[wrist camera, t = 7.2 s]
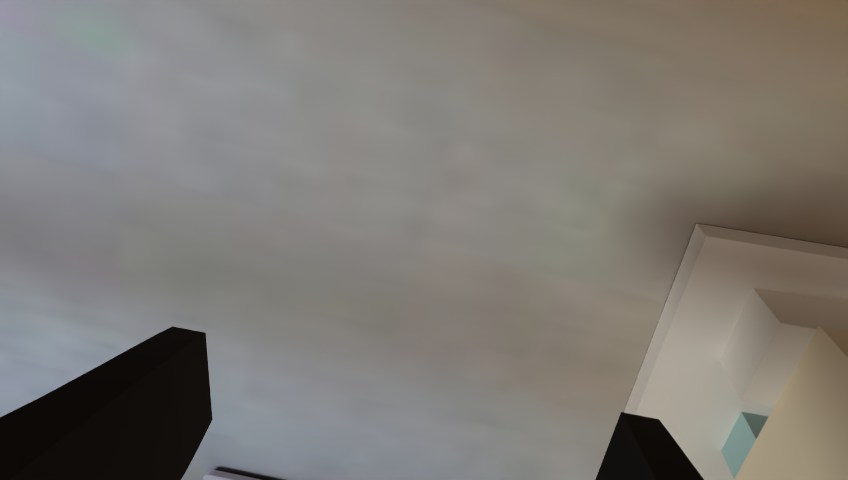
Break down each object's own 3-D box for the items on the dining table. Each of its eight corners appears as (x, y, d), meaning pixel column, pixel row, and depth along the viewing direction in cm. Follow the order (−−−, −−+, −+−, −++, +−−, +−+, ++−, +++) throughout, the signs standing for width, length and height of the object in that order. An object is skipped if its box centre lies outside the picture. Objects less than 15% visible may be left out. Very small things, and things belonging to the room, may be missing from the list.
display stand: (810, 566, 24) (848, 641, 21) (582, 519, 25) (591, 586, 22) (1018, 276, 17) (1112, 331, 14) (696, 223, 18) (729, 266, 15)
